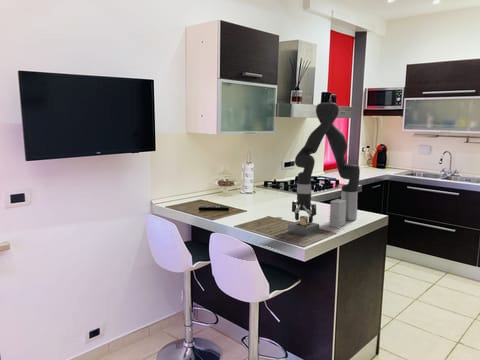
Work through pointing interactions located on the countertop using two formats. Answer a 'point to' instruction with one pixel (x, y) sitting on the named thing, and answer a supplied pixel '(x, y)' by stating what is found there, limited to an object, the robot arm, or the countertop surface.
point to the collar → (303, 228)
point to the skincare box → (337, 213)
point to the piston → (304, 221)
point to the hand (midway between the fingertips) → (303, 221)
